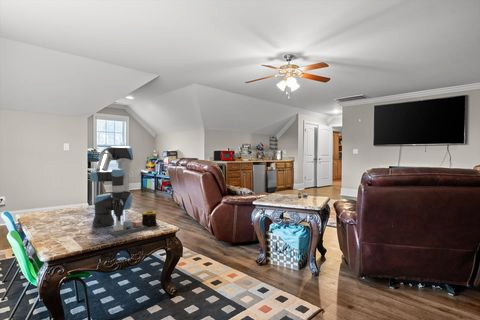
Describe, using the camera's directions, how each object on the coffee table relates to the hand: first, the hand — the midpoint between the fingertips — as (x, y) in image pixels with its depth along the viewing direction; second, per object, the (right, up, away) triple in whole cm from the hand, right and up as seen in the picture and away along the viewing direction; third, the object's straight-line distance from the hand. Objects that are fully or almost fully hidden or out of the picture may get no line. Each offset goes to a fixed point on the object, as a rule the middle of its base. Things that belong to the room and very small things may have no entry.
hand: (118, 225), depth 188 cm
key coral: (+9, -5, +11) cm, 15 cm away
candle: (+14, -5, +21) cm, 26 cm away
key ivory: (0, -5, 0) cm, 5 cm away
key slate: (+4, -3, +6) cm, 8 cm away
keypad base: (+4, -5, +6) cm, 9 cm away
